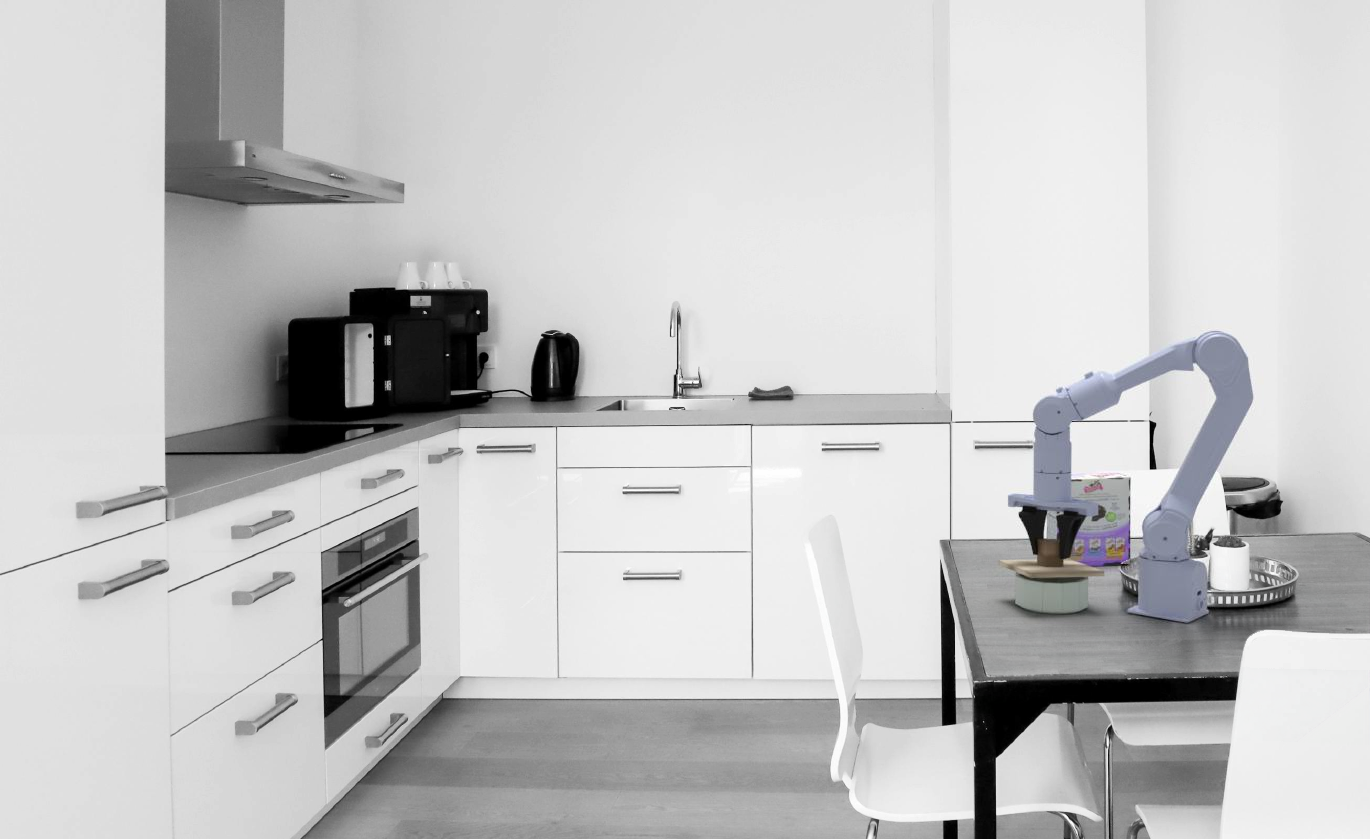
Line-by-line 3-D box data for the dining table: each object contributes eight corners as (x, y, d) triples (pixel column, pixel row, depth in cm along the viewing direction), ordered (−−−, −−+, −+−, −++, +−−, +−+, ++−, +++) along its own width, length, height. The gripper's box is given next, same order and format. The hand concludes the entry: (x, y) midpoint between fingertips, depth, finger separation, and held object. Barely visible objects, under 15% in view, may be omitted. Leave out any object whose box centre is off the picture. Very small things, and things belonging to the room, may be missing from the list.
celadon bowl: (1100, 605, 187) (1100, 574, 187) (1066, 618, 179) (1066, 586, 179) (1037, 594, 195) (1037, 564, 194) (1002, 606, 187) (1002, 576, 187)
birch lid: (1104, 576, 181) (1104, 545, 181) (1031, 577, 179) (1031, 546, 179) (1067, 563, 193) (1068, 534, 193) (998, 564, 191) (999, 535, 191)
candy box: (1118, 558, 220) (1119, 471, 218) (1131, 565, 214) (1132, 476, 212) (1045, 561, 219) (1045, 473, 218) (1056, 567, 213) (1057, 478, 212)
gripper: (1108, 472, 183) (1106, 558, 184) (1023, 464, 193) (1023, 545, 194) (1086, 477, 178) (1085, 565, 179) (1001, 469, 188) (1000, 552, 189)
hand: (1051, 555), depth 186 cm, fingers closed on birch lid, 4 cm apart
